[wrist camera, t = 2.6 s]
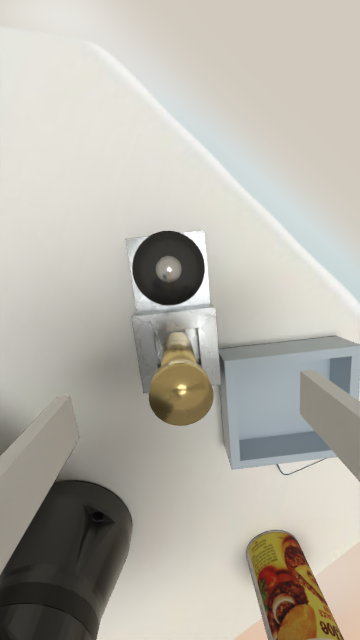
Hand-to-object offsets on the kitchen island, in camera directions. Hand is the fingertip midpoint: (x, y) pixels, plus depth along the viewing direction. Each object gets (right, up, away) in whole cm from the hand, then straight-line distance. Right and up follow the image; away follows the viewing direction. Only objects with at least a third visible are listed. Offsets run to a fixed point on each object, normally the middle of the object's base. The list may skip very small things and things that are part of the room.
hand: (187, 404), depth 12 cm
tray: (+12, -4, +14) cm, 19 cm away
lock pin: (-1, +2, +11) cm, 11 cm away
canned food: (+13, -29, +20) cm, 38 cm away
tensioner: (-1, +6, +12) cm, 13 cm away
